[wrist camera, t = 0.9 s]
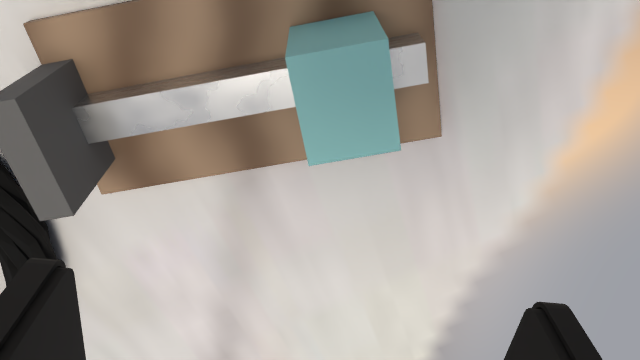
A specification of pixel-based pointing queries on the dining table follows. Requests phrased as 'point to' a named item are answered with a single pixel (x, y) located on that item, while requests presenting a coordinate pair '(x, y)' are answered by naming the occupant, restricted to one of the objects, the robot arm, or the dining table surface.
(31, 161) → the stop
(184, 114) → the rail
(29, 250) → the cable lock
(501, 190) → the dining table surface
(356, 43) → the slider
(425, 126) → the board
